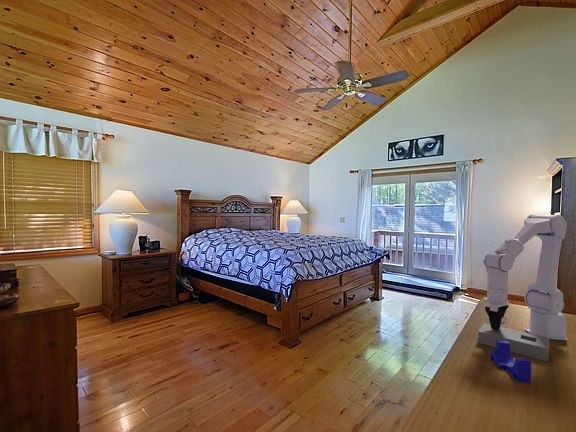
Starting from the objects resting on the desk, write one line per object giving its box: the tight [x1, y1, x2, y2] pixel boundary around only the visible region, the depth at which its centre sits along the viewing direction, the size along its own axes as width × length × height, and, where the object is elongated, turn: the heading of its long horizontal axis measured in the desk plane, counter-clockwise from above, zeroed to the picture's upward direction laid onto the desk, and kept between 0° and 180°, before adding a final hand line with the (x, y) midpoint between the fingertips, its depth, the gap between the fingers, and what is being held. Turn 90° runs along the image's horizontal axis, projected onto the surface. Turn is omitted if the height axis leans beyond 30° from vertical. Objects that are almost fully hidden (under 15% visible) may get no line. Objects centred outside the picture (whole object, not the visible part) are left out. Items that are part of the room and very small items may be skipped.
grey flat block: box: [477, 323, 550, 363], centre depth 98 cm, size 18×10×4 cm, turn 47°
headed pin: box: [487, 315, 507, 332], centre depth 101 cm, size 5×5×5 cm
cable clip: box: [489, 340, 532, 384], centre depth 84 cm, size 12×4×6 cm, turn 168°
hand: (496, 326), depth 101 cm, fingers closed on headed pin, 5 cm apart
